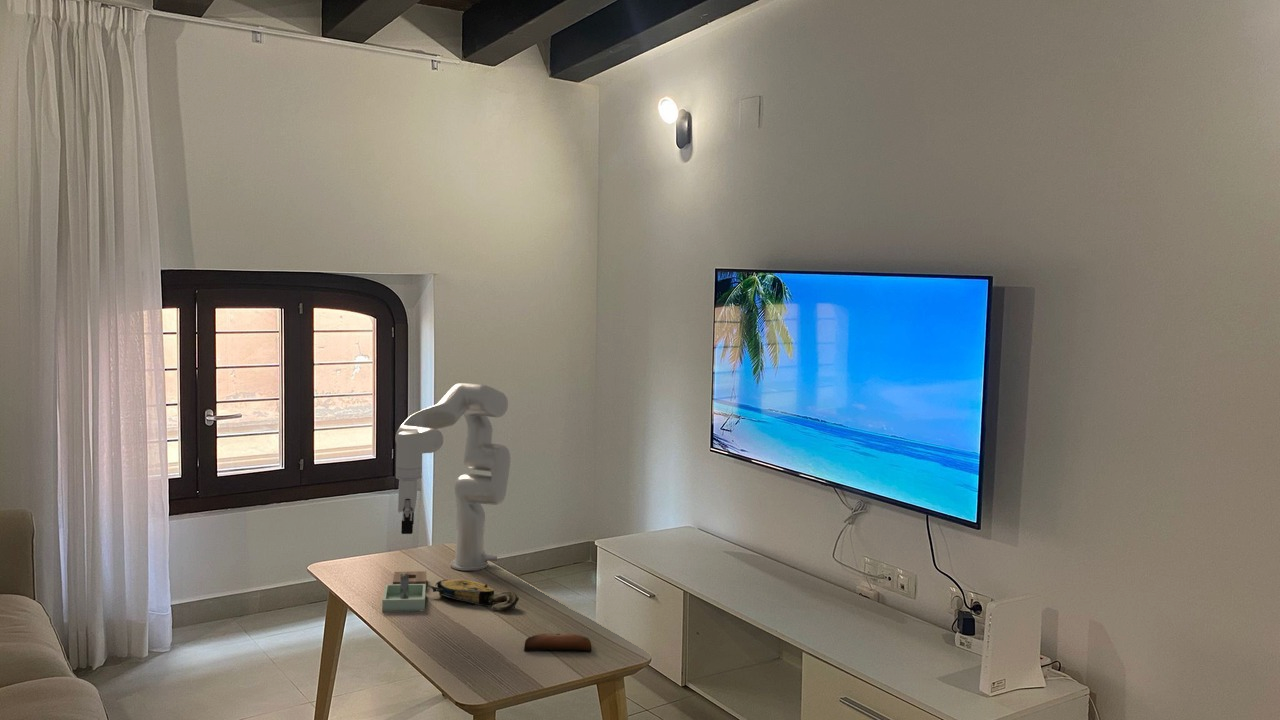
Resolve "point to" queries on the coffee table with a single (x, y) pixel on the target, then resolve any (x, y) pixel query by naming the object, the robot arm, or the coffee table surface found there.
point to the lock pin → (404, 586)
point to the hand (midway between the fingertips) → (407, 529)
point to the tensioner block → (411, 577)
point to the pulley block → (475, 593)
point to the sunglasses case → (557, 642)
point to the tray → (396, 604)
